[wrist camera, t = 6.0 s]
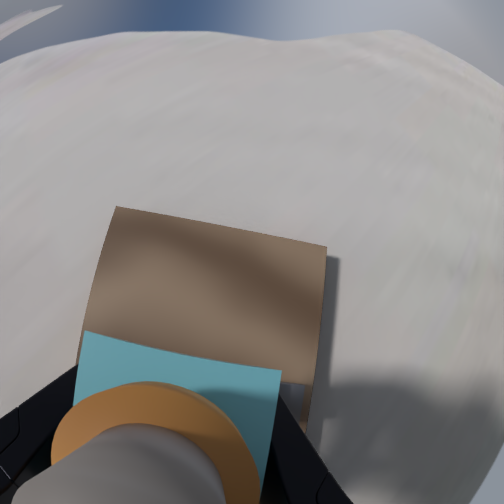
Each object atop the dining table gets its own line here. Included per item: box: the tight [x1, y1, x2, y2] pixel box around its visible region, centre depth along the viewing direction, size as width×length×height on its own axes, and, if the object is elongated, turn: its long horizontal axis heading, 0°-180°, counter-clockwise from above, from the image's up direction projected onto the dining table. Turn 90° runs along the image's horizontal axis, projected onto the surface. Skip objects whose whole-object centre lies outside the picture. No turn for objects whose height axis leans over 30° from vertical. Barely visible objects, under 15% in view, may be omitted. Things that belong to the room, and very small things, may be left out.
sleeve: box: [73, 330, 282, 501], centre depth 6 cm, size 4×4×3 cm
